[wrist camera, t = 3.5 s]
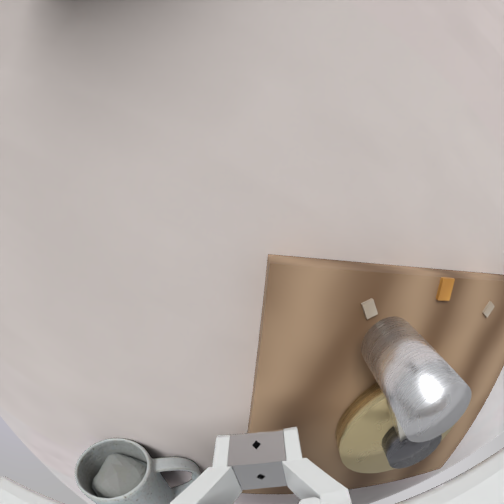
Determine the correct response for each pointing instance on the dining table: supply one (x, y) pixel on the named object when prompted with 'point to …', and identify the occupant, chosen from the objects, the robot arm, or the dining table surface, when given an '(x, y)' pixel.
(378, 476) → the brown flat wooden board
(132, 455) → the ceramic mug
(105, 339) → the dining table surface
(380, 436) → the brass and silver crank
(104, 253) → the dining table surface
